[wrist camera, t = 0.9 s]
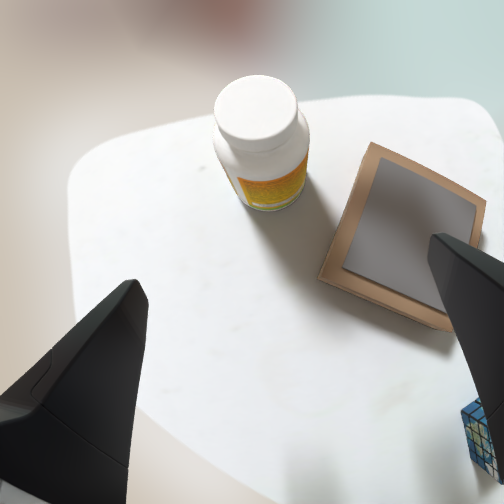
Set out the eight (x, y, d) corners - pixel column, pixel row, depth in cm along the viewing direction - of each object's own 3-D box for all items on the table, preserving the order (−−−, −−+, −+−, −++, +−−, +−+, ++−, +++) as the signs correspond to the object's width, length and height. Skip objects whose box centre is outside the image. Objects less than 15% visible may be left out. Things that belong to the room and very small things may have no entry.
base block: (435, 329, 20) (453, 332, 17) (317, 278, 22) (321, 275, 19) (469, 210, 21) (488, 199, 18) (363, 157, 23) (371, 139, 20)
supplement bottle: (319, 174, 23) (336, 99, 13) (273, 228, 23) (261, 178, 13) (265, 134, 24) (250, 50, 14) (218, 183, 24) (176, 116, 14)
